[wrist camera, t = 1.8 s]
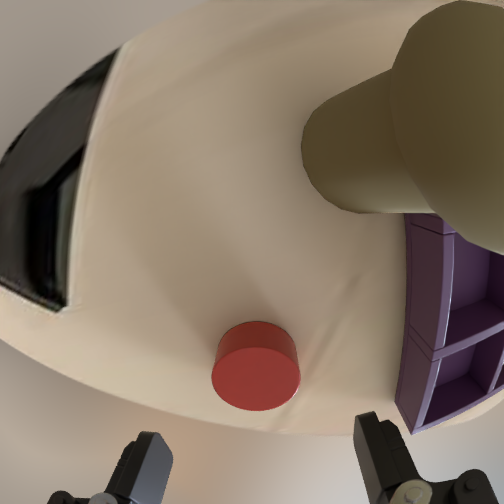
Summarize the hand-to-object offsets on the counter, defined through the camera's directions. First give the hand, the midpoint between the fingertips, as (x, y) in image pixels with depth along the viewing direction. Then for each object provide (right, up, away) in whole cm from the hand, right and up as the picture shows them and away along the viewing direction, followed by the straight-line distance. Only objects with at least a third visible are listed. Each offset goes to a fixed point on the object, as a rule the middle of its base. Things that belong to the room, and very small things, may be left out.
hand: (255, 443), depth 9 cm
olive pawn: (+5, +12, +3) cm, 14 cm away
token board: (+19, +5, +4) cm, 20 cm away
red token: (0, +2, +6) cm, 6 cm away
